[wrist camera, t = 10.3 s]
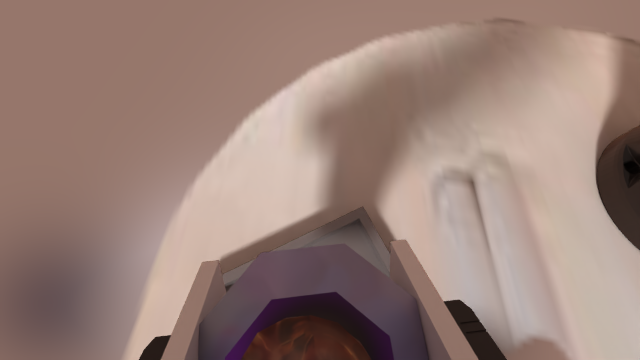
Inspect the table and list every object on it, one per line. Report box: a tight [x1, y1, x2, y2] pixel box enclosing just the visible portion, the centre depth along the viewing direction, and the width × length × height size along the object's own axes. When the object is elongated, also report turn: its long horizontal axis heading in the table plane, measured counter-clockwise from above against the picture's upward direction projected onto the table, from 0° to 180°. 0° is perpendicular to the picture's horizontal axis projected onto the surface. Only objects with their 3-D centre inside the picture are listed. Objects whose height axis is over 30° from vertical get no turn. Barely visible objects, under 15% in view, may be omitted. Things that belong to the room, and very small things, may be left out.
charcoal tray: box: [222, 207, 390, 293], centre depth 25 cm, size 15×15×2 cm
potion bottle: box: [198, 243, 429, 360], centre depth 12 cm, size 9×9×12 cm
